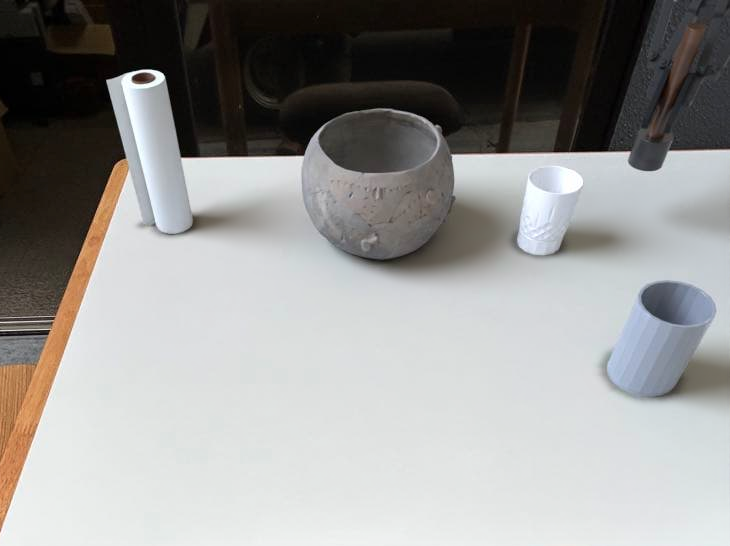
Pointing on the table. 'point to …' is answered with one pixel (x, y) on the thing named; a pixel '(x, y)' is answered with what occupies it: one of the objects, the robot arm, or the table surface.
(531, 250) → the white cup
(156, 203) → the paper towel roll
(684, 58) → the brush
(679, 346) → the tumbler
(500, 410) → the table surface
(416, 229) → the bowl
